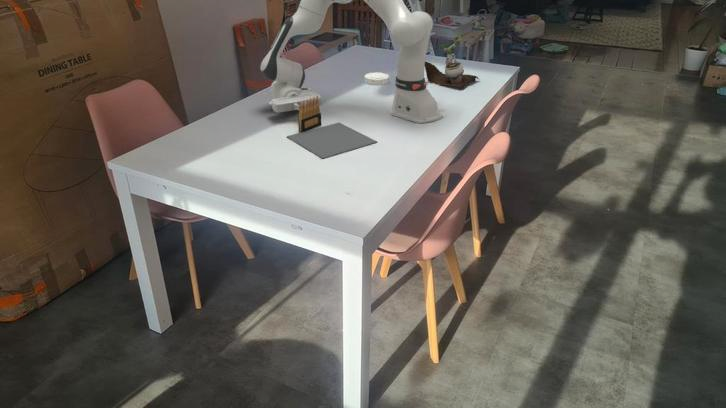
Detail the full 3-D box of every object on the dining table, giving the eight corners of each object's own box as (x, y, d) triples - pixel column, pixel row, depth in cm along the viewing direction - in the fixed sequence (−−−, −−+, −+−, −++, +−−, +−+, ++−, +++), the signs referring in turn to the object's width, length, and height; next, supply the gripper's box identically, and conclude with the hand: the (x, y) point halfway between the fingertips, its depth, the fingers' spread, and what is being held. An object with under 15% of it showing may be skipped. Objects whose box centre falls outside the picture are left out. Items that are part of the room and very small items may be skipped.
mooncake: (388, 78, 263) (388, 71, 261) (389, 85, 253) (389, 78, 251) (364, 78, 263) (364, 71, 261) (364, 85, 252) (364, 78, 251)
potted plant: (463, 96, 247) (451, 44, 235) (429, 98, 259) (416, 48, 247) (481, 79, 260) (471, 29, 248) (447, 81, 271) (436, 34, 260)
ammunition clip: (301, 132, 200) (300, 102, 194) (298, 131, 201) (296, 101, 195) (321, 125, 207) (320, 95, 201) (318, 123, 208) (317, 94, 202)
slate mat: (377, 142, 193) (377, 141, 192) (322, 159, 180) (322, 158, 180) (339, 123, 209) (339, 122, 209) (286, 137, 196) (286, 136, 196)
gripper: (266, 94, 211) (278, 105, 200) (313, 87, 219) (327, 97, 208) (267, 109, 214) (279, 120, 203) (314, 102, 222) (327, 112, 212)
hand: (303, 108), depth 206 cm, fingers closed
